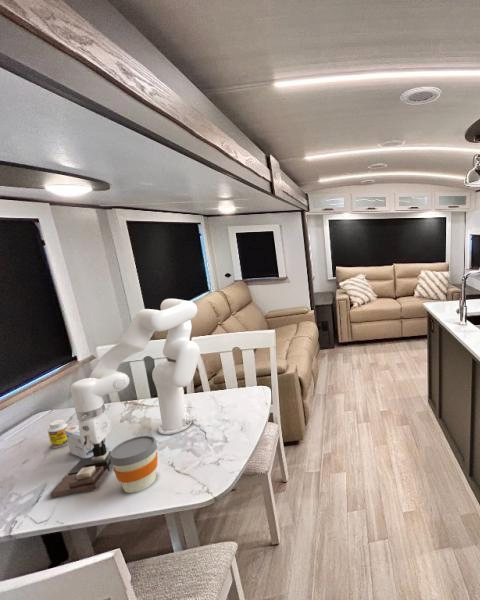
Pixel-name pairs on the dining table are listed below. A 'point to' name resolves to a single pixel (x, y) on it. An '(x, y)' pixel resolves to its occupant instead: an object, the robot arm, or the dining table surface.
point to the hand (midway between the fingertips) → (100, 454)
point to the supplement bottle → (57, 433)
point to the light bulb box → (77, 443)
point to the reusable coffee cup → (135, 463)
